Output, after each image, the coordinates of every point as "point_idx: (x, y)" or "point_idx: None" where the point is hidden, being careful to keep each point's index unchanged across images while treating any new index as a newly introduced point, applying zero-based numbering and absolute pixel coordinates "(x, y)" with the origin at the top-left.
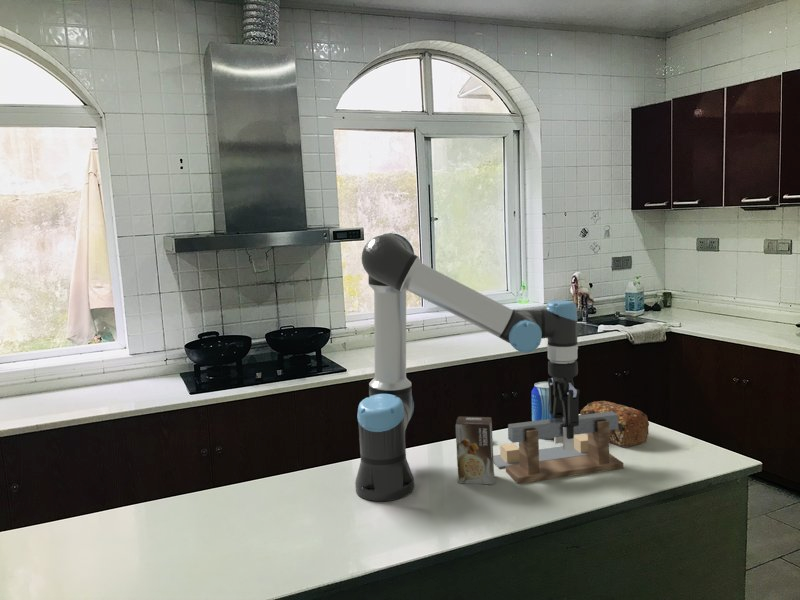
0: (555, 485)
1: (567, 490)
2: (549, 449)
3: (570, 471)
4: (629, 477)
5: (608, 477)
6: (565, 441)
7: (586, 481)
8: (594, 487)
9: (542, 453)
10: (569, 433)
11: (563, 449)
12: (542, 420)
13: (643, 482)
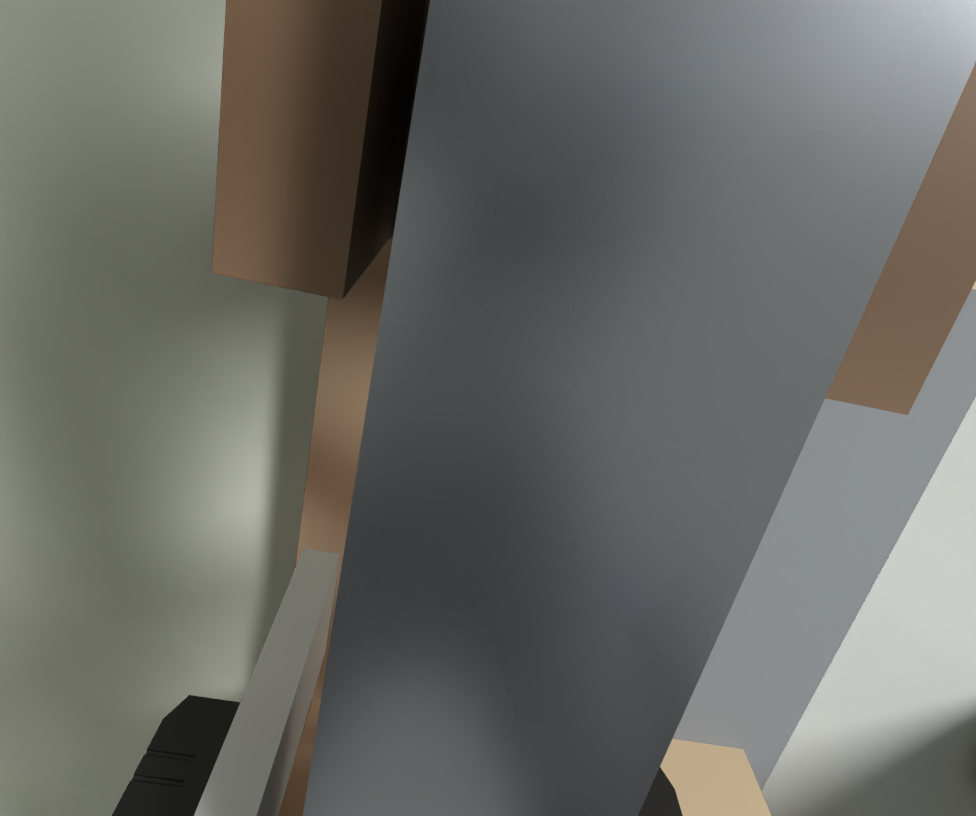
0: (194, 206)
1: (55, 234)
2: (830, 607)
3: (308, 460)
4: (129, 733)
5: (179, 639)
6: (268, 645)
7: (173, 479)
8: (45, 460)
9: (809, 518)
10: (133, 791)
11: (330, 555)
12: (627, 737)
13: (27, 748)
